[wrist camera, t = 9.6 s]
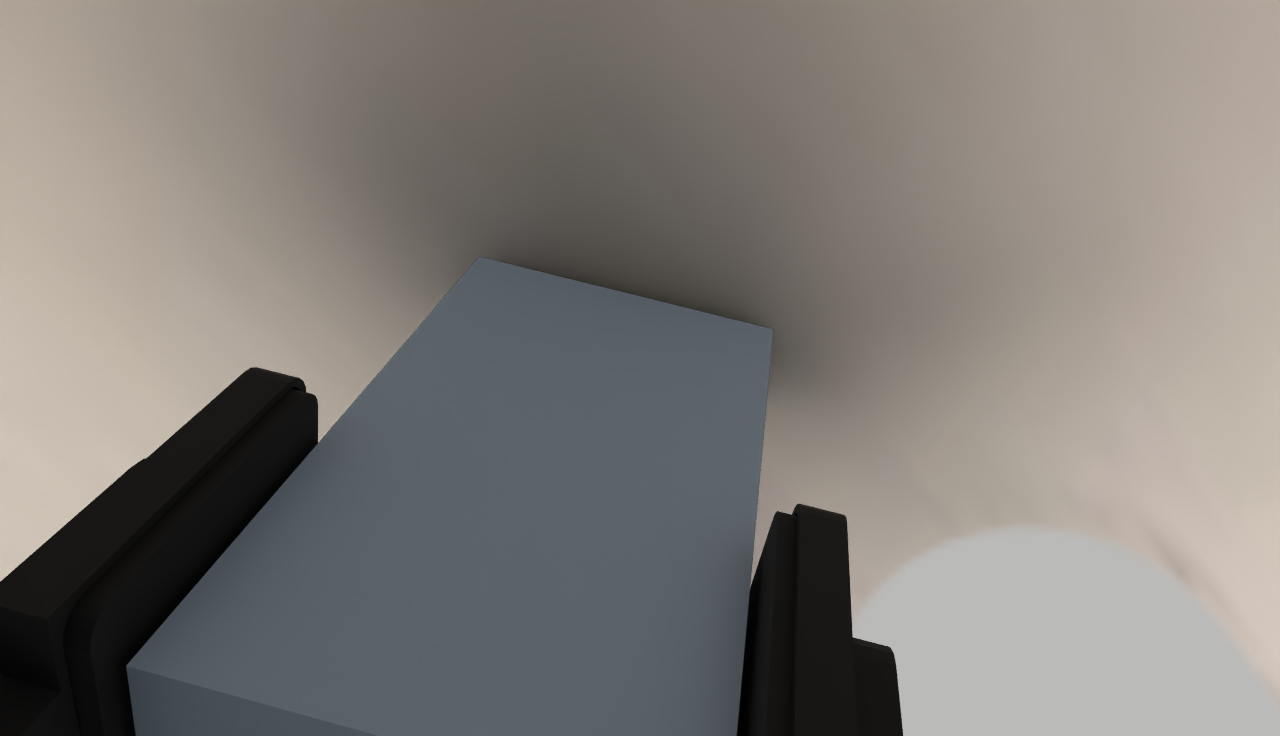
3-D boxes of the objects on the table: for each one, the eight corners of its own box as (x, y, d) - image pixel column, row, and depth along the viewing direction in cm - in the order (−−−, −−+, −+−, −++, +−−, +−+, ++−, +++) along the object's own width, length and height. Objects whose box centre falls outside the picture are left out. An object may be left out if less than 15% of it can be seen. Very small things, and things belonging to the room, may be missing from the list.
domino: (479, 256, 15) (125, 665, 7) (773, 329, 15) (728, 831, 7) (469, 349, 16) (145, 802, 8) (746, 419, 16) (679, 954, 8)
